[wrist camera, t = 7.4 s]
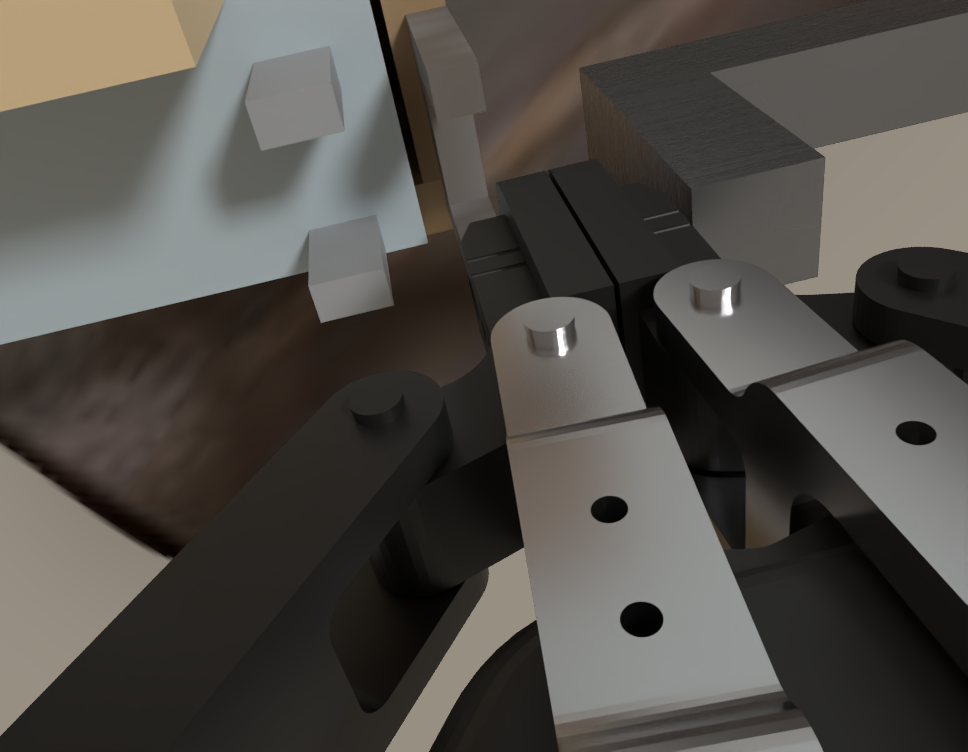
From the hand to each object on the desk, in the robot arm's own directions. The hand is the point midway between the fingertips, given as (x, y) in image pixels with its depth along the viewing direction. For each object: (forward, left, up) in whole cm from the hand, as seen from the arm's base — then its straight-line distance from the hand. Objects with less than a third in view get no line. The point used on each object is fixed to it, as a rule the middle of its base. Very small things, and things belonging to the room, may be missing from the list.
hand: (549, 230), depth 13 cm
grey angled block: (-6, 0, -4) cm, 7 cm away
